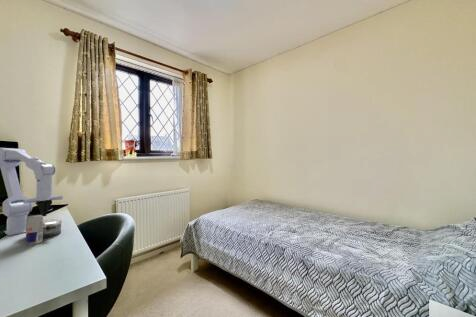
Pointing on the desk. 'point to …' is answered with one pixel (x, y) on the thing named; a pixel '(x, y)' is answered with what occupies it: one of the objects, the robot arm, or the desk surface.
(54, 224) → the small frying pan
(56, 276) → the desk surface
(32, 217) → the energy drink
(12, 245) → the desk surface
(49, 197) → the robot arm
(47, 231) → the grey metal cylinder
